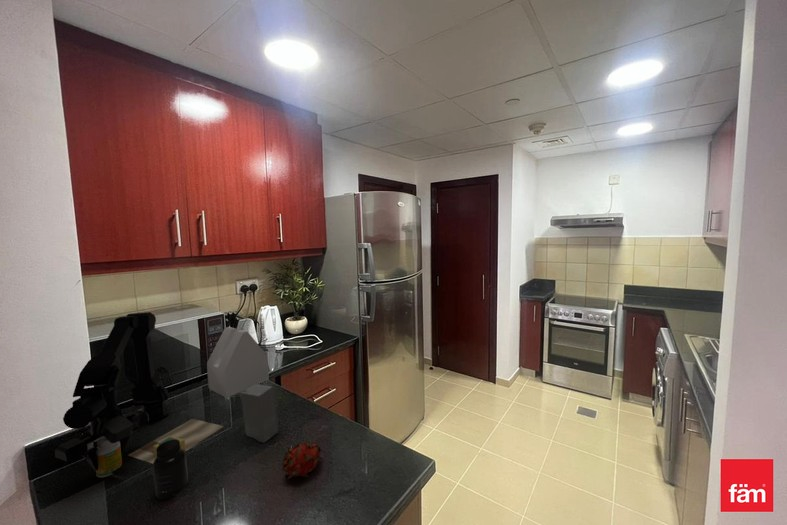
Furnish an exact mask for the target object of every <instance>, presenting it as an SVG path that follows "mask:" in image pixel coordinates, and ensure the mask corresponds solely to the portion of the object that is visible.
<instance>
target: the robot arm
mask: <svg viewBox="0 0 787 525" xmlns="http://www.w3.org/2000/svg"><path fill="white" fill-rule="evenodd" d="M156 321H157V317H156V315H155V314H153V313H152V312H150V311H148V312H138V313H135V312H134V313H128V314H127V315H126V316H119V317H117V318H115V319H114V321H113V326H112V329H111V331H110V333H109V334H108V337H107V338H106V340H105V342H104V344H103V345H102V348H101V349H100V351H99V353H98V354H97V355H95V356H94V357H92V358H91V359H89V360H88V361H87V363H86V364H85V365H84V366H83V368H82V370H81V371H80V372H79V376H78V378H77V381H76V384H75V386H74V391H73V393H72V398H76V399H75V400H73V401H72V404H71V405H72V406H71V407H69V409H67V410H66V412H65V413H64V415H63V417H62V421H63V423H64V425H65V426H66V427H67V428H70V429H73V430H78V429H79V430H80V429H83V428H85V427H87V426H88V425H90V428H88V429H87V430H88V433H89V434H90V436H87V437H85V438H83V439H81V438H76V437H74V438H72V439H69V440H68V441H65V442H63V443H61V444H59V445H57V447H56V448H55V450H54V457H55V458H57V459H59V460H62V461H65V462H71V461H73V460H74V459H77V458H79V457H83V458H84V460H85V461H86V462H88V464H89V465H90V467H91V468H92V469H93V470H94V471H96V470H98V461H97V456H96V451H97V449H98V448H97V447H95V446H94V443H97V441H98V440H100V439H102V438H104V437H105V438H106V439H107V440H109V442H110V443H116V442H118V441H119V442H120V445H121V457H123V456H124V453H125V450H126V446H127V444H128V442H129V438H130V437H131V435H132V434H133V433H134V432H135V431H137V430H138V428H139V427H140V426H142V425H145V424H147V425H151V424H154V423H155V422H157V421H159V420H161V419H163V418H165V417H167V416H168V415H169V413H168V412H164V402H166V401H168V400H169V390H168V389H167V388H166V387H165V386H164V384H163V382H162V379H161V378H160V377H159V376H158V374H156V373H155V372H156V371H155V365H154V357H153V356H154V355H153V354H154V353H153V348H152V347H153V346H152V340H151V335H152V333H153V331H154V329H155V328H156V323H157V322H156ZM130 339H131V340H132V346H133V352H134V359H135V360H134V361H135V366H136V368H135V369H136V377H137V381H136V383H135V384H134V386H133V387H132V389H131V391H132V392H131V393H132V394H131V396H132V401H133V404H134V407H135V408H138V407H141V410H142V411H141V410H137V409H135V410H134V411H131V412H129V413H126V414H124V415H123V414H122V413H123V412H122V409H121V408H119V406H118V395H117V386H118V385H119V384H120V381H119V378H120V377H121V373H122V363H121V361H120V360H121V357H122V354H123V353H124V350H125V349H126V347H127V344H128V341H129V340H130ZM77 397H79V398H78V399H77Z"/></svg>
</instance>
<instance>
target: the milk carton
mask: <svg viewBox="0 0 787 525" xmlns="http://www.w3.org/2000/svg"><path fill="white" fill-rule="evenodd" d="M268 356H269V355H267V353H266V352H265V351H264V350H263V349H262V347H261V346H260V345H259V344H258V342H256V339H254V337H252V335H251V334H250V333H249V331H247V330H242V329H237V328H235V327H231V326H227V327H224V328H223V330H222V333H221V335H220V337H219V339H218V341H217V343H216V344H215V346H214V348H213V351H212V352H211V354H210V357H209V358H208V360H207V362H206V369H207V387H208V389H209V390H211V391H213V392H215V393H216V394H218V395H220V396H222V397H223V398H226V399H227V398H229V397H232V396H234V395H237V394H240V393H241V392H242V391H244V390H246V389H248V388H249V387H251V386H253V385H255V384H260V383H261V384H263V383H265V382H264V381H266V382H268V381H270V377H269V375H270V374H269V360H268ZM262 382H263V383H262ZM261 384H260V385H261Z"/></svg>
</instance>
